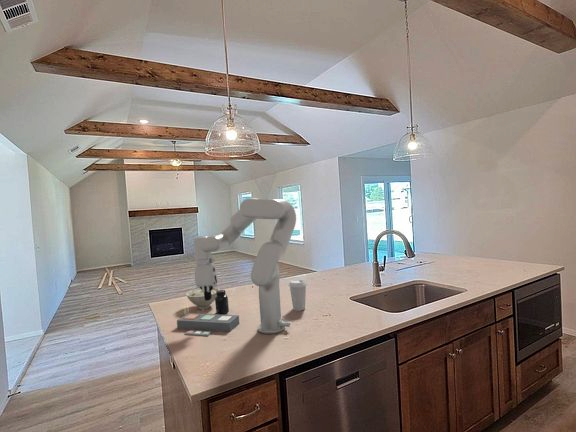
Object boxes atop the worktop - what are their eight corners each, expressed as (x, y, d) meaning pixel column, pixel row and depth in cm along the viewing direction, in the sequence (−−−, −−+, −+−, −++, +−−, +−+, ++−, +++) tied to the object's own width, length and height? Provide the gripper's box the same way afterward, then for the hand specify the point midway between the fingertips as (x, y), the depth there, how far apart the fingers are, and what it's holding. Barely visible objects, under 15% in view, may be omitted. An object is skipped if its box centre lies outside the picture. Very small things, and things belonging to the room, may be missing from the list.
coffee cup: (306, 311, 166) (305, 283, 166) (288, 311, 168) (287, 283, 168) (309, 305, 176) (307, 278, 175) (292, 305, 178) (290, 279, 177)
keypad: (239, 323, 156) (238, 315, 156) (230, 331, 146) (229, 323, 146) (189, 320, 164) (188, 313, 163) (177, 328, 154) (176, 320, 154)
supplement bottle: (223, 309, 178) (221, 288, 177) (231, 312, 173) (230, 290, 173) (213, 313, 172) (211, 291, 172) (221, 316, 168) (219, 293, 167)
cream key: (232, 322, 154) (232, 316, 154) (227, 326, 149) (227, 320, 149) (222, 321, 155) (222, 315, 155) (217, 326, 151) (217, 319, 150)
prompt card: (212, 332, 146) (212, 331, 146) (207, 336, 143) (207, 334, 143) (189, 331, 150) (189, 329, 150) (184, 334, 146) (184, 333, 146)
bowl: (179, 310, 181) (178, 293, 180) (203, 300, 198) (202, 284, 197) (205, 314, 172) (204, 296, 171) (228, 303, 189) (226, 286, 188)
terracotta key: (199, 320, 159) (199, 314, 159) (193, 324, 154) (193, 318, 154) (190, 320, 161) (190, 314, 160) (184, 324, 156) (184, 318, 155)
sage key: (215, 321, 157) (215, 315, 156) (210, 325, 152) (209, 319, 151) (206, 321, 158) (206, 315, 158) (200, 325, 153) (200, 318, 153)
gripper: (221, 259, 155) (225, 297, 156) (195, 261, 159) (199, 297, 160) (214, 262, 148) (218, 302, 148) (186, 264, 152) (190, 302, 153)
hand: (208, 299), depth 154 cm, fingers closed
